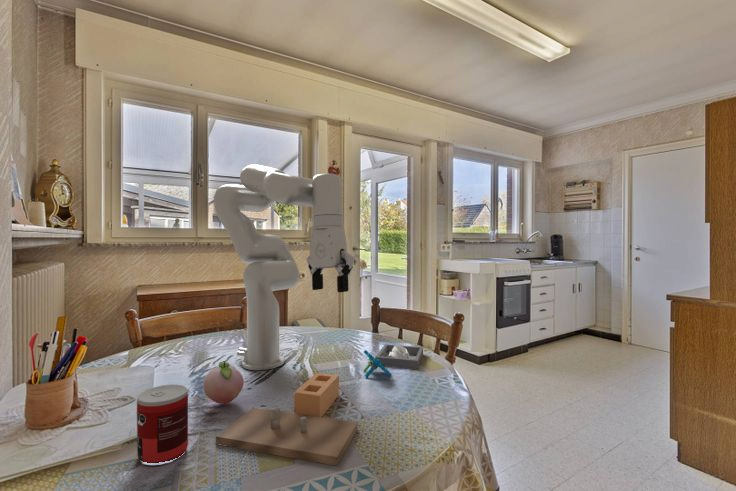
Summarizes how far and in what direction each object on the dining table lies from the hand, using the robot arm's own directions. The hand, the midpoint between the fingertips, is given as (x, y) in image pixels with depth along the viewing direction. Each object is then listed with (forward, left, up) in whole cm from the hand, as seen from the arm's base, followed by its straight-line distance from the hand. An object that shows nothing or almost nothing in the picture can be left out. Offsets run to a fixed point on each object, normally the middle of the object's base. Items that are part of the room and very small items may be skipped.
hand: (330, 290), depth 91 cm
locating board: (0, -23, -25) cm, 34 cm away
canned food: (-19, -34, -26) cm, 46 cm away
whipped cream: (+13, +28, -26) cm, 40 cm away
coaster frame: (+13, +27, -25) cm, 40 cm away
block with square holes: (0, -9, -25) cm, 27 cm away
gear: (+9, +12, -26) cm, 30 cm away
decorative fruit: (-21, -15, -26) cm, 36 cm away
